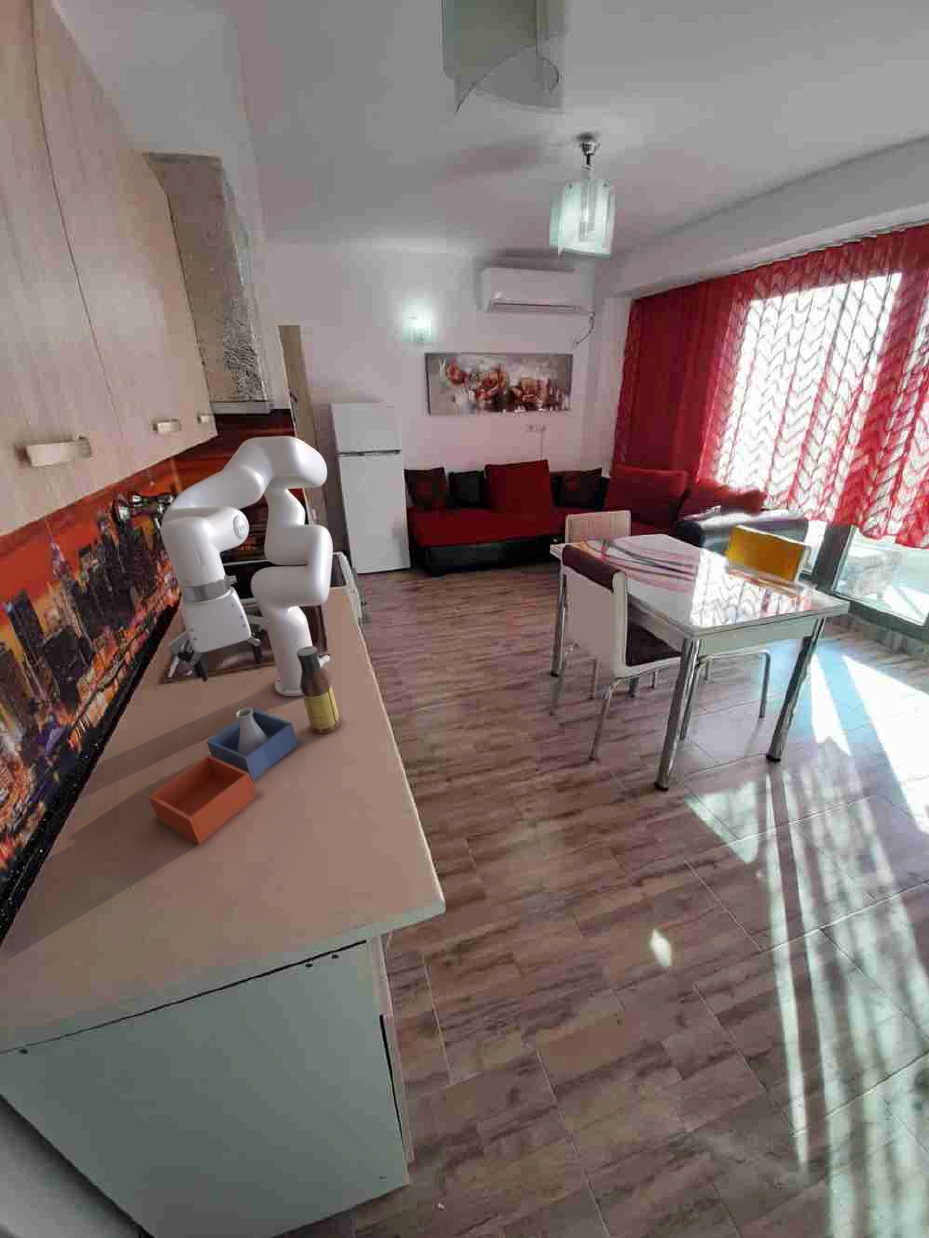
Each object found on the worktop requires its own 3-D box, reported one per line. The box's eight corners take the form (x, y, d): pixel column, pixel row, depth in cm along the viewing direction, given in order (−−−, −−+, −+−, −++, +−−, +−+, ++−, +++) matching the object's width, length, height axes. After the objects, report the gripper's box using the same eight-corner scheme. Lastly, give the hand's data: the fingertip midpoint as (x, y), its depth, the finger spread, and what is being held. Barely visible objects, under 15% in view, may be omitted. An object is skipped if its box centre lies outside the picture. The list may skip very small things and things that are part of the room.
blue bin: (260, 729, 106) (254, 709, 104) (297, 744, 101) (292, 723, 99) (214, 763, 97) (206, 741, 95) (252, 781, 92) (245, 758, 89)
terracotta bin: (216, 776, 93) (208, 754, 91) (256, 796, 88) (249, 773, 86) (158, 819, 84) (147, 796, 82) (199, 844, 79) (189, 820, 77)
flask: (234, 767, 95) (221, 727, 90) (240, 744, 101) (227, 705, 97) (272, 759, 96) (261, 719, 92) (275, 737, 103) (265, 698, 98)
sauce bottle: (324, 715, 110) (307, 639, 101) (345, 721, 107) (330, 644, 99) (304, 732, 105) (285, 654, 96) (326, 738, 102) (308, 659, 94)
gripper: (252, 571, 91) (274, 648, 98) (149, 594, 83) (181, 676, 90) (260, 582, 85) (282, 663, 92) (149, 608, 77) (183, 695, 85)
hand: (232, 669), depth 91 cm, fingers open, 9 cm apart
